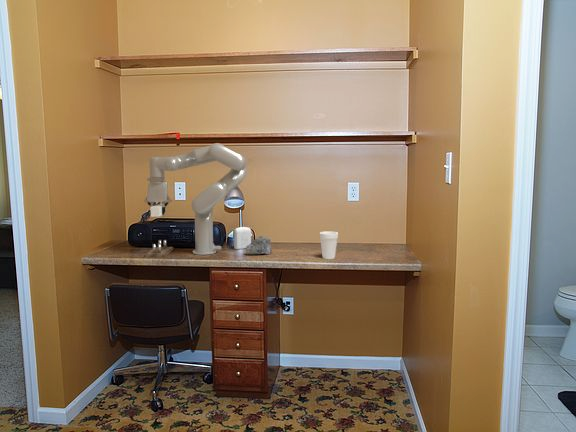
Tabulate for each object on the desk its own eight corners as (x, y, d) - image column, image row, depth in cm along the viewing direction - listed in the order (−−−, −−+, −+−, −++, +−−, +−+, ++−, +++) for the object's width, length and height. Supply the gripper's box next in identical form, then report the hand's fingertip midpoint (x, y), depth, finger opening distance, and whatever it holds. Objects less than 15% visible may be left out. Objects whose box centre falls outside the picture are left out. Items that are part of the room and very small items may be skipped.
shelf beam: (159, 216, 233) (159, 207, 232) (150, 216, 233) (150, 207, 232) (165, 213, 248) (165, 204, 247) (157, 213, 248) (157, 204, 247)
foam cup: (335, 255, 236) (335, 231, 235) (340, 259, 227) (340, 233, 226) (317, 256, 235) (317, 231, 233) (321, 259, 226) (321, 234, 224)
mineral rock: (245, 255, 236) (245, 237, 235) (249, 251, 247) (249, 233, 245) (269, 256, 235) (269, 237, 233) (272, 252, 245) (272, 234, 244)
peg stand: (173, 249, 253) (173, 239, 252) (164, 256, 233) (164, 245, 232) (155, 249, 253) (155, 239, 252) (145, 257, 233) (145, 245, 232)
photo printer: (248, 246, 261) (248, 225, 259) (252, 248, 257) (252, 226, 256) (232, 248, 255) (232, 227, 254) (236, 250, 252) (236, 228, 250)
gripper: (139, 180, 234) (140, 215, 236) (171, 180, 235) (172, 215, 237) (143, 180, 242) (144, 213, 244) (174, 180, 242) (175, 213, 244)
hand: (158, 214), depth 240 cm, fingers closed on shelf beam, 4 cm apart
